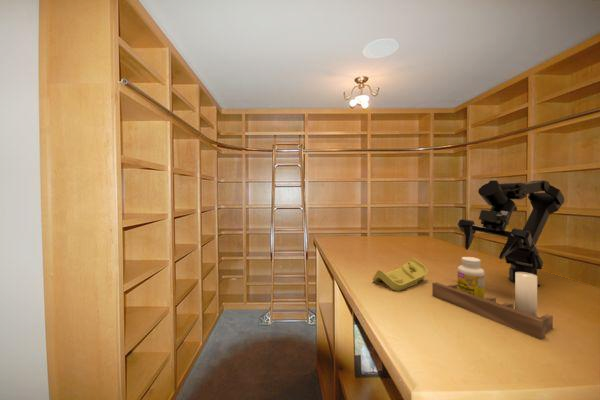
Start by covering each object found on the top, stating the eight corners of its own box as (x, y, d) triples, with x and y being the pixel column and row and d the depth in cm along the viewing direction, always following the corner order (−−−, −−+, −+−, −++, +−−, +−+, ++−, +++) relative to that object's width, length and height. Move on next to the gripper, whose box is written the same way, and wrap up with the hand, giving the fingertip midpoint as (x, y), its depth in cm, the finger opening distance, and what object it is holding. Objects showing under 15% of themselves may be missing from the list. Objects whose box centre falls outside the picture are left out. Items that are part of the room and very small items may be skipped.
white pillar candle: (519, 316, 62) (519, 271, 62) (540, 323, 58) (540, 275, 58) (511, 319, 60) (512, 273, 60) (532, 327, 57) (532, 278, 56)
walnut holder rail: (448, 290, 79) (449, 278, 79) (557, 329, 56) (557, 312, 56) (432, 295, 75) (432, 283, 75) (541, 339, 52) (541, 321, 52)
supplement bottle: (452, 298, 73) (452, 257, 73) (466, 294, 76) (466, 254, 75) (474, 307, 67) (475, 263, 67) (489, 303, 69) (490, 260, 69)
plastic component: (398, 286, 77) (376, 266, 84) (391, 302, 80) (370, 282, 88) (433, 271, 87) (410, 255, 94) (425, 286, 90) (404, 269, 98)
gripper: (462, 196, 83) (443, 233, 79) (534, 204, 67) (515, 251, 64) (470, 214, 89) (453, 249, 85) (539, 225, 73) (522, 268, 70)
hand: (482, 253), depth 76 cm, fingers open, 9 cm apart
